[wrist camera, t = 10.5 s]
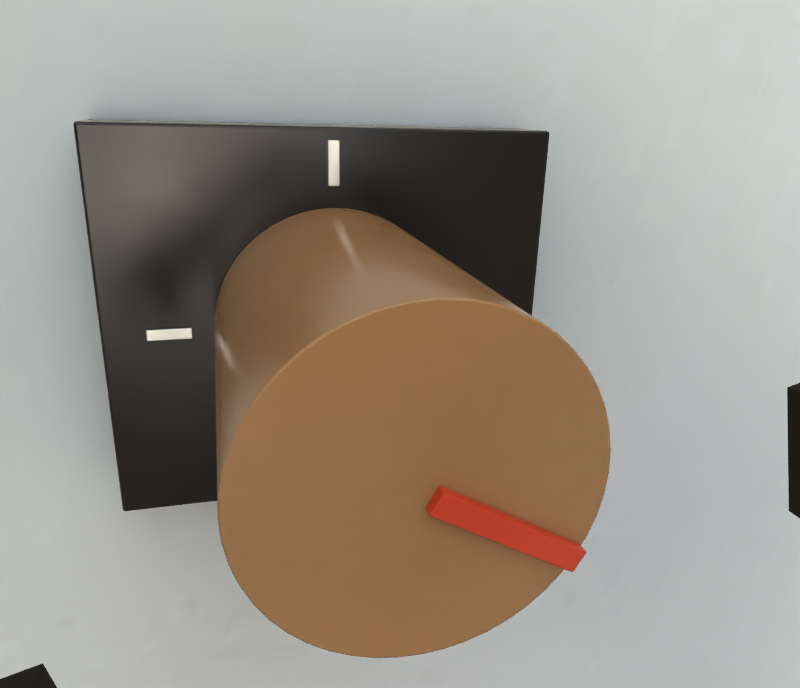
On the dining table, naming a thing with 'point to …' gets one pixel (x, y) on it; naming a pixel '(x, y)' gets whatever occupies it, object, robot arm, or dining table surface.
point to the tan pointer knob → (394, 440)
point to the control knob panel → (242, 222)
